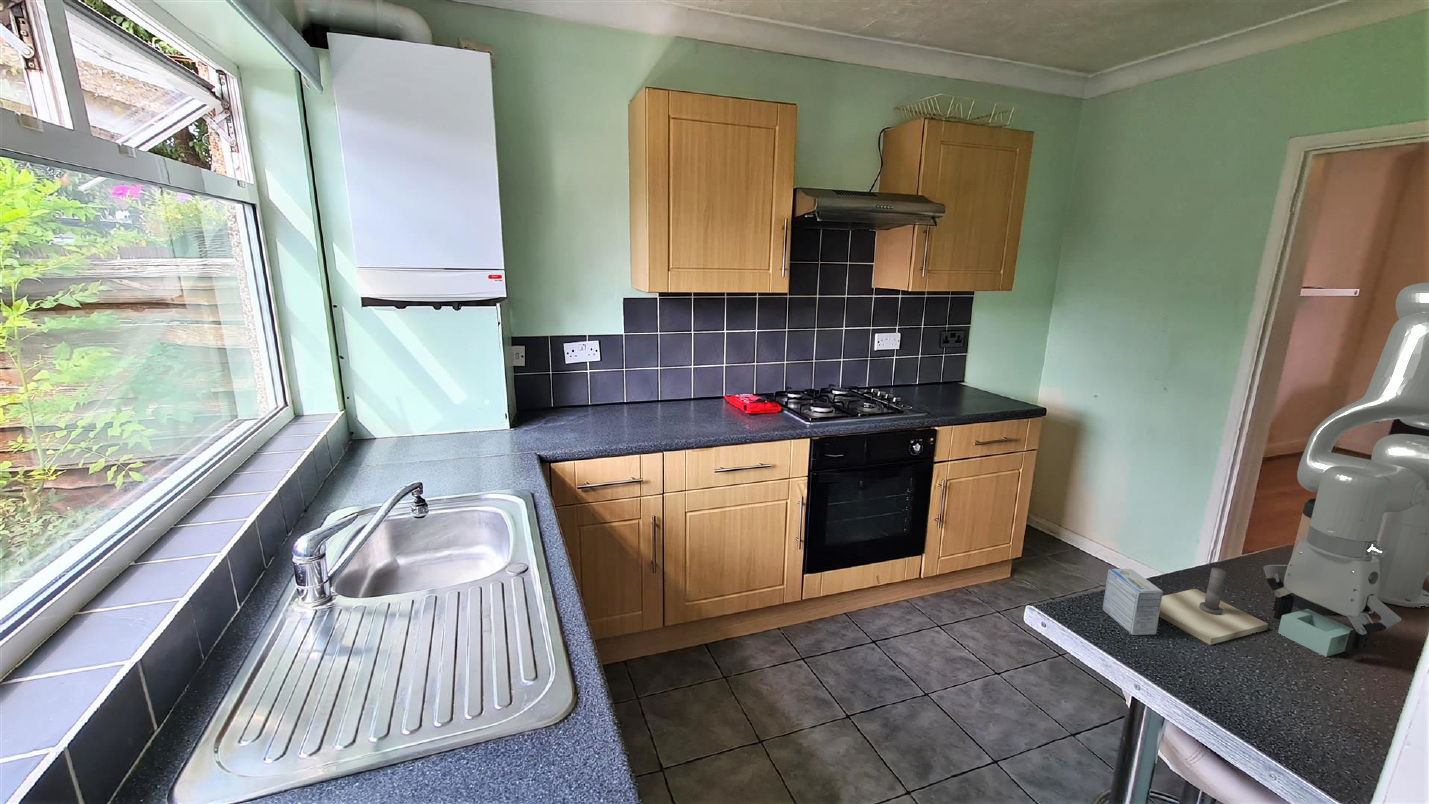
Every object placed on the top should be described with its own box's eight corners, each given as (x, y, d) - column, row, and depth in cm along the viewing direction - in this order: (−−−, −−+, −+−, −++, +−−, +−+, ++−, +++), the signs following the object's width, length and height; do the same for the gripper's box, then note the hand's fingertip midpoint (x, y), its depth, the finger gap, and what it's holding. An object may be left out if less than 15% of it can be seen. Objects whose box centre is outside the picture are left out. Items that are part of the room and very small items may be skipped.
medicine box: (1156, 635, 100) (1165, 591, 98) (1131, 636, 100) (1139, 591, 98) (1124, 609, 108) (1131, 567, 106) (1101, 609, 108) (1107, 568, 106)
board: (1194, 593, 112) (1202, 551, 110) (1266, 629, 101) (1277, 582, 99) (1140, 606, 108) (1148, 562, 106) (1209, 644, 97) (1220, 596, 95)
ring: (1303, 626, 102) (1307, 608, 101) (1352, 649, 96) (1357, 630, 95) (1277, 633, 100) (1281, 615, 99) (1326, 656, 94) (1331, 638, 93)
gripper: (1430, 563, 87) (1400, 661, 91) (1290, 517, 103) (1270, 602, 107) (1399, 571, 85) (1370, 671, 89) (1261, 523, 101) (1242, 609, 105)
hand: (1315, 633), depth 98 cm, fingers open, 9 cm apart
